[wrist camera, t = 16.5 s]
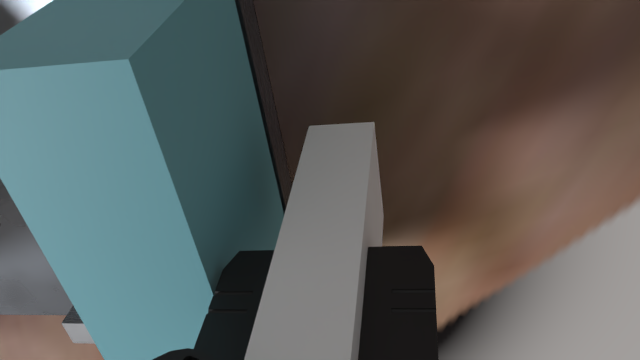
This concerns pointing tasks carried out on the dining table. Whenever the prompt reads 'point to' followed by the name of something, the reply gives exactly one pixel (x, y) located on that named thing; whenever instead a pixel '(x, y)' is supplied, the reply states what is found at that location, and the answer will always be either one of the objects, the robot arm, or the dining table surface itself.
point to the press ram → (136, 160)
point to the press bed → (19, 243)
